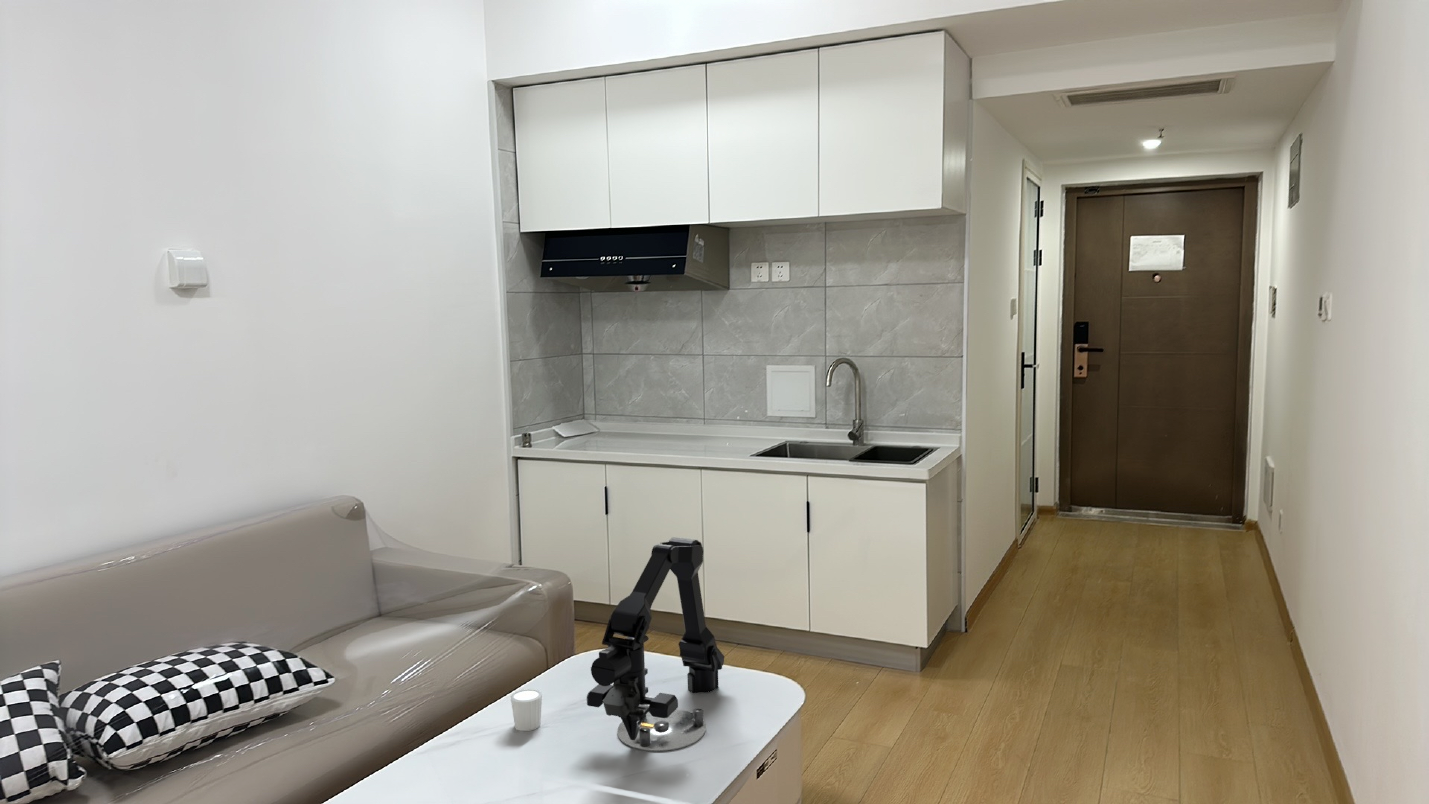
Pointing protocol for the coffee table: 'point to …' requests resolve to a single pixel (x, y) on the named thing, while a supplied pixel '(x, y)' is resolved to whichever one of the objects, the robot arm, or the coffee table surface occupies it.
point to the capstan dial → (666, 731)
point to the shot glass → (526, 709)
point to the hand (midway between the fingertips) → (633, 739)
